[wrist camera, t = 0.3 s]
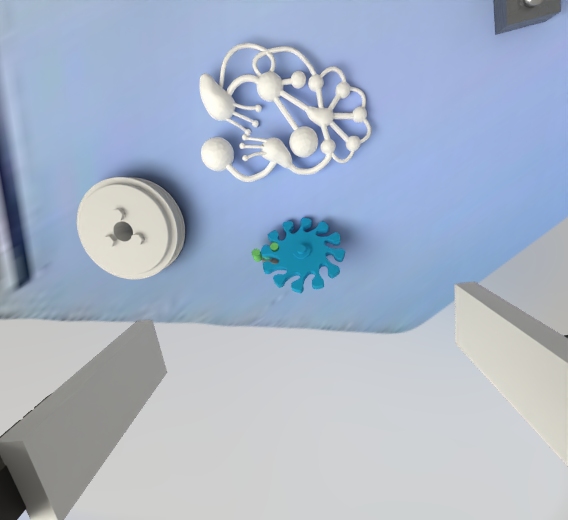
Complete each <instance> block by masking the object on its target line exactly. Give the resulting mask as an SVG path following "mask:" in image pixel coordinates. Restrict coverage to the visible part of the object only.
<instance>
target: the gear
mask: <svg viewBox="0 0 568 520" xmlns="http://www.w3.org/2000/svg"><path fill="white" fill-rule="evenodd" d="M311 226H312V223H311V220H310V219H308V218H302V219H301V227H300V229H299V230H298V231H297V232H296V233H294V234H292V233H291V232H292V230H293V229H294V227H293V222H292V221H287V222H283V229H284V231H285V232H286V238H285V240H283V241H280V240H279V235H278V232H277V231H276V230H274V231H272V232H271V233H269V234H268V238H269V240H270V241H271V242H273V243H272V244H271V245H270V246H268V245H264V246H263V247H262V249H261V252H260V250H259V249H254V250H253V251H252V255H253V258H254V260H255V261H257V262H259V261H261V260H262V261H263V269H264V272H265V274H270V273H272V272H273V271H276V270H286V271H287V273H286V274H283V275H282V274H277V275H275V276H274V277H273V279H274V282H275V284H276V285H277V286H278V287H279V288H280V287H283V286H284V284H285V282H286V281H287V280H288V279H289V278H291V277H293V276H296V275H299V276H300V278H299V279H298V280H296V281H294V282H293V283H292V285H291V287H292V290H293V291H295V292H298V293H302V292H303V289H304V288H303V284H304V281H305V279H306V278H307V276H308V275H309V274H314V275H315V277H314V279H313V280H312V287H313V289H321V288H323V287H324V281H323V279H322V278H321V276H320V274H319V269H320V268H321V267H322V266H326V267H327V268H328V275H329V277H330V278H334V277H336V276H337V275H338V274H339V273H340V269H339V267H338V266H336V265H333V264H332V263H330V262H329V261H328V259H327V258H326V256H327V255H333V256H334V258H335V260H336V261H338V262H342V261H343V259H344V256H345V250H344V249H332V248H329V247H327V246H326V245H325V244H326V243H331V244H333V245H339V244H340V235H339V233H333V234H332V235H330V236H326V237H319V236H317V234H325V233H327V232H328V231H329V226H328V225H327V224H326V223H325V222H324V221H322V222H320V223H319V224H318V226H317V227H316V228H315V229H314V230H312V231H310V232H304V231H305V230H306V229H309V228H310V227H311Z"/></svg>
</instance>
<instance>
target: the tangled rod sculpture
mask: <svg viewBox="0 0 568 520" xmlns="http://www.w3.org/2000/svg"><path fill="white" fill-rule="evenodd" d="M243 48H252V49H256V50H259V51H261V52H260V53H258V54H257V55H256V56H255V57H254V59H253V69H254V71H255V73H256V74H257V76H255V75H249V74H246V75H241V76H239V77H238V78H236V79H235V80H234V81H233V82H232V83H231V84H230V86H229V87H228V88H227V91H225V90H224V89H223V84H224V75H225V69H226V65H227V63H228V60H229V58H230V57H231V56H232V55H233V53H235V52H236V51H238V50H240V49H243ZM283 51H286V52H292V53H294V54H296V55H297V56H298V57H299V58H300V59H301V60H302V61H303V62H304V63H305V64H306V66H307V67H308V68H309V70H310V72H311V74H312V76H311V77H310V78H309V81H308V85H309V88H310V89H311V90H312V91H314V92H315V91H316V94H317V100H318V107H319V108H316V107H310V106H307V105H306V104H304V103H302V102H301V101H299V100H298V99H296V98H294V97H293V96H291V95H290V94H288V93H286V92H285V91H283V85H288V84H292V85H293V87H295V88H302V87H303V86H304V85H305V83H306V76H305V74H304V73H303V72H301V71H296V72H294V73H293V74H292V76H291V78H289V79H283V80H282V79H281V78H280V76H279V75H277V74H276V73H274V70H275V59H274V56H273V55H272V53H277V52H283ZM265 55H267V56H268V57H269V58H270V60H271V69H270V70H269V72H265V73H263V74H261V73H260V71H259V70H258V68H257V61H258V60H259V59H260V58H261V57H263V56H265ZM330 71H336V72H337V73H338V74H339V75H340V77H341V79H342V82H340V83H339V84H338V85H337V87H336V90H335V92H336V96H335V97H334V99H333V101H332V102H331V104H330V105H329V107H328V108H324V106H323V99H322V92H321V88H322V87H323V78H322V77H323V76H324V75H325V74H327V73H328V72H330ZM247 81H248V82H253V83H256V84H257V91H258V94H259V96H260V97H261V98H262V99H263V100H265V101H269V102H272V101H274V102H275V103H276V105H277V106H278V108H279V109H280V110H281V112H282V113H283V115H284V116H285V118H286V119H287V121H288V122H289V123H290V125H291V126H292V128H293V129H294V131H293V133H292V134H291V137H290V141H289V145H290V148H291V150H292V152H293V153H294V154H295V155H297V156H299V157H308V156H310V155H312V154H313V153H314V152H315V151H316V149H317V147H318V137H317V134H316V133H315V131H314V130H313V129H311V128H310V127H306V126H304V127H298V126H297V124H296V123H295V121H294V120H293V118H292V117H291V115H290V114H289V113H288V111H287V110H286V108H285V107H284V105H283V104H282V102H281V101H280V99H279V97H280V96H282V97H284V98H285V99H287V100H288V101H290V102H292V103H293V104H295V105H296V106H298V107H300V108H301V109H303V110H304V111H306V113H307V115H308V117H309V119H310V120H311V121H313V122H314V123H316V124H317V125H318V126H320V127H321V128H322V132H323V135H324V138H325V140H324V141H323V142H322V144H321V150H322V152H323V153H324V154H326V157H325V158H324V159H323V161H322V162H320V163H319V164H318V165H317V166H315V167H313V168H309V169H301V168H297V167H296V166H294V165H293V164H292V157H291V154H290V152H289V151H288V149H287V148H286V147H285V145H284V144H283V142H282V141H281V140H279V139H278V138H274V137H272V138H268V139H262V138H253V137H248V136H249V135H251V130H250V129H246V128H244V127H243V126H241V125H240V124H238V123H237V122H235V121H233V120H231V119H230V118H231V117H232V115H235V116H237V117H240V118H242V119H244V120H247V121H249V122H251V123H252V125H253V126H254V127H258V125H259V122H258V121H257V120H252V119H250V118H248V117H246V116H244V115H241V114H239V113H237V112H234V111H235V107H238V108H241V109H246V110H256V111H257V112H260V111H261V110H262V107H261V106H260V105H256V106H244V105H240V104H237V103H235V101H234V99H233V98H232V94H233V92H234V91H235V89H236V88H237V87H238V86H239V85H240V84H242V83H244V82H247ZM350 91H354V92H357V93H359V94H360V96H361V97H362V107H357V108H355V109H354V110H353V113H333V109H334V107H335V106H336V104H337V103H338V101H339V99H340V98H341V99H344V98H346V97H347V96H348V95H349V94H350ZM200 95H201V99H202V101H203V103H204V105H205V107H206V109H207V111H208V113H209V114H210V116H211V117H213V118H214V119H216V120H220V121H225V120H227V121H228V122H230V123H232V124H234V125H235V126H237V127H239V128H240V129H242V130H243V131H245V134H244V135H243V136H242V139H243V140H254V141H262V142H263V144H262V145H245V144H244V143H240V148H241V149H244V148H261V152H257V153H253V154H251V155H249V156H247V155H244V156H243V157H242V158H243V160H244V161H247V160H248V159H249V158H251V157H253V156H257V155H262V156H263V157H264V158H265V159H267V160H270V161H271V162H270V163H269V165H268V166H267V167H266V168H265V169H264V170H263V171H261V172H259V173H257V174H254V175H251V176H246V175H243V174H241V173H239V172H238V171H237V170H236V169H235V168H234V167H233V166H232V165H231V164H232V163H233V160H234V151H233V148H232V146H231V144H230V143H229V142H228V141H227V140H225V139H223V138H220V137H214V138H210V139H208V140H207V141H206V142H205V143H204V144H203V146H202V149H201V156H202V160H203V162H204V163H205V165H206V166H207V167H208V168H210V169H212V170H215V171H223V170H225V169H228V170H229V171H230V172H231V173H232V174H233V175H234V176H235V177H236V178H238V179H239V180H242V181H244V182H252V181H256V180H258V179H261V178H263V177H265V176H266V175H268V174H269V173H270V172H271V171H272V170H273V168H274V166H275V165H276V164H277V163H278V164H280V165H281V166H283V167H285V168H289V169H290V170H291V171H293V172H294V173H296V174H300V175H310V174H314V173H316V172H318V171H320V170H321V169H323V168H324V167H325V166H326V165H327V164H328V163H329V162H330V160H331V158H332V157H333V159H334V160H335V161H337V162H339V163H346V162H348V161H349V160H350V159H351V157H352V156H353V154H354V152H355V151H356V150H357V149H358V148H359V147H360V145H361V143H363V142H365V141H366V140H367V139H368V138H369V137H370V135H371V126H370V124H369V122H368V120H367V119H366V117H367V111H366V109H365V106H366V98H365V94H364V93H363V92H362V90H360V89H358V88H355V87H350V85H349V84H348V83H347V82H346V78H345V76H344V74H343V72H342V71H341V70H340V69H339V68H338V67H333V66H332V67H329V68H327V69H325V70H324V71H323V72H322V73H321V74H320V75H319V74H316V72H315V70H314V68H313V66H312V65H311V64H310V62H309V61H308V60H307V58H306V57H305V56H304V55H303V54H302V53H301V52H299V51H298V50H297V49H294V48H292V47H287V46H284V47H275V48H271V49H266V48H264V47H262V46H260V45H257V44H253V43H242V44H239V45H237V46H234V47H233V48H232V49H231V50H230V51H229V52H228V53H227V55H226V56H225V58H224V60H223V63H222V67H221V74H220V82H219V85H218V84H217V83H216V81H215V80H214V79H213V78H212V76H210V75H209V74H207V73H205V74H202V76H201V77H200ZM333 119H353V120H354V121H355V122H357V123H361V122H364V123H365V124H366V127H367V130H368V132H367V135H366V136H365V137H364V138H363V139H361V140H360V139H359V137H357V136H350V137H348V136H347V135H346V134H345V133H344V132H343V131H342V130H341V129H340V128H339V127H338V126H337V125H336V123H335V122H334V121H333ZM329 125H330V126H331V127H332V128H333V129H334V130H335V131H336V133H337V134H338V135H339V136H340V137H341V138H342V139H343V140H344V141H345V142H346V147H347V149H348V150H350V151H351V152H350V154H349V156H348V157H347V158H346V159H339V158H338V157H336V155H335V154H334V151H335V148H336V145H335V142H334V141H333V140H331V139H330V136H329V133H328V130H327V126H329Z"/></svg>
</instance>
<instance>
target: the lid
mask: <svg viewBox="0 0 568 520" xmlns="http://www.w3.org/2000/svg"><path fill="white" fill-rule="evenodd" d="M77 228H78V233H79V237H80V240H81V242H82V245H83V247H84V249H85V250H86V252H87V253H88V255H89V256H90V257H91V259H92V260H93V261H94V262H95V263H96V264H97V265H99V266H100V267H101V268H102V269H104V270H105V271H107V272H109V273H111V274H113V275H115V276H118V277H121V278H126V279H143V278H147V277H150V276H153V275H155V274H156V273H158V272H160V271H161V270H162V269H164V268H166V267H167V266H169V265H170V264H171V263H172V262H173V261H174V260H175V259H176V258H177V257H178V255H179V253H180V252H181V249H182V247H183V244H184V240H185V224H184V219H183V216H182V213H181V211H180V209H179V207H178V205H177V203H176V202H175V200H174V199H173V198H172V197H171V195H170V194H169V193H168V192H167V191H165V190H164V189H163V188H162V187H160V186H159V185H157V184H155V183H153V182H151V181H149V180H146V179H142V178H134V177H128V178H125V177H115V178H109V179H106V180H103V181H101V182H99V183H97V184H95V185H94V186H93V187H91V188H90V189H89V191H88V192H87V193H86V194H85V196H84V197H83V199H82V201H81V203H80V205H79V209H78V214H77Z"/></svg>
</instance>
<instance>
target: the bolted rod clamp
mask: <svg viewBox="0 0 568 520" xmlns="http://www.w3.org/2000/svg"><path fill="white" fill-rule="evenodd" d="M559 12H561V0H494V16H495V35H496V34H500V33H503V32H507V31H511V30H515V29H519V28H522V27H526V26H530V25H534V24H537V23H541V22H545V21H547V20H548V19H550V18H551V17H553V16H554V15H556V14H557V13H559Z"/></svg>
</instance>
